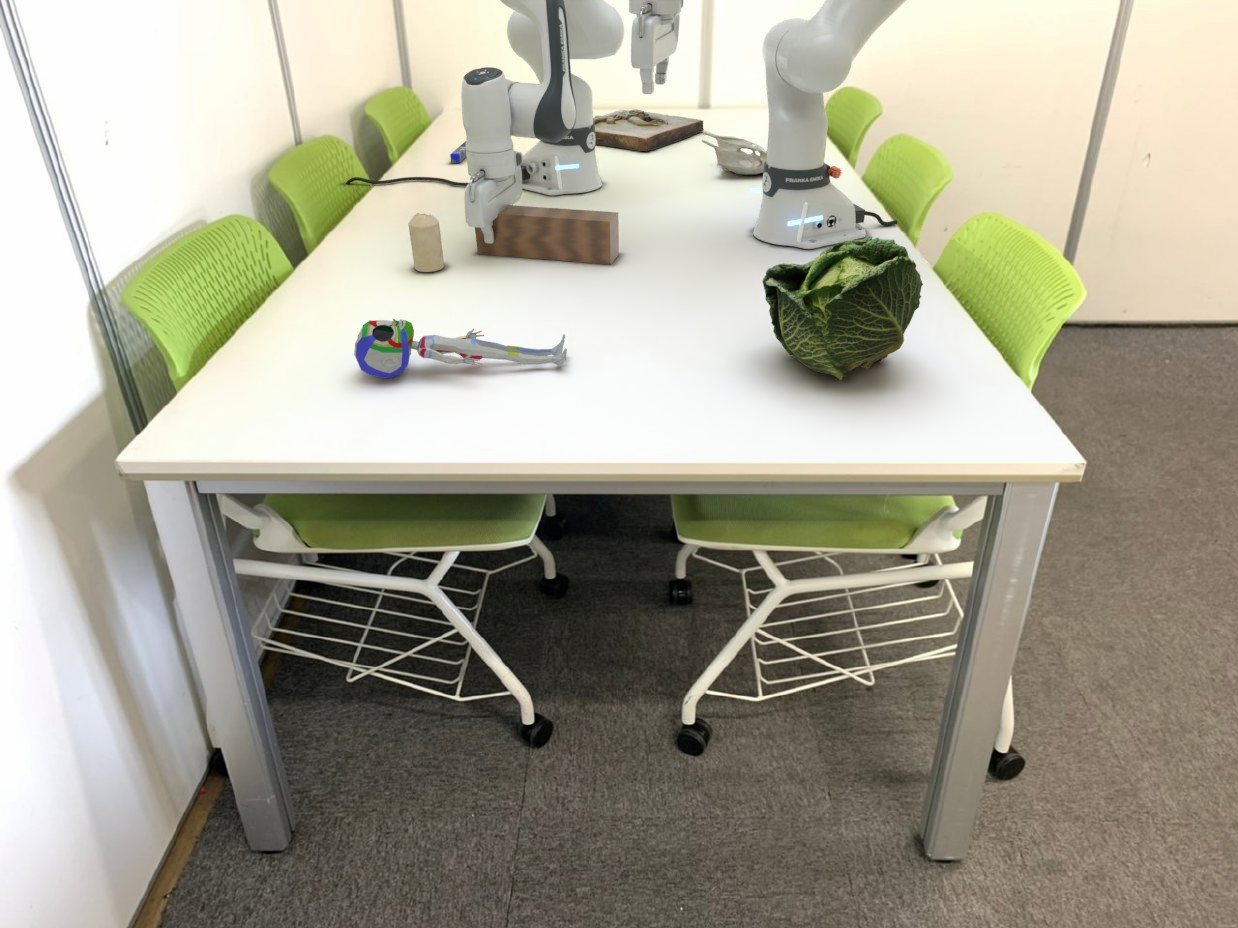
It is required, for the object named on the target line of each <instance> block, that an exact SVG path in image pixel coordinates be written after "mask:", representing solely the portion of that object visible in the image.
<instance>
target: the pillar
mask: <svg viewBox="0 0 1238 928" xmlns="http://www.w3.org/2000/svg"><path fill="white" fill-rule="evenodd" d="M449 155H450V164H460V163H461V162H462V161H463V160H465V159H466V158H467V157H466V140H464V141H463V143H462V144H460V145H459V146H458V147H457V148H456V149H454V151H452V152H451V153H450V154H449Z"/></svg>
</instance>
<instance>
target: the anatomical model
mask: <svg viewBox="0 0 1238 928" xmlns="http://www.w3.org/2000/svg"><path fill="white" fill-rule="evenodd" d="M702 135H704V136H708V137H711V138H714V139H715V140H716V142H717V145H715V144H713V143H712V142H709V141H708V140H705V139H701V142H702V143H703V144H706V145H708V146H709V147H711V148H713V149H714V152H715V155H716V160H717V164H716V165H717V166H721V167H722V170H724V171H727V172H729V171H730V172H733V173H735V174H736V175H744V176H747V175H750V176H751V175H752V176H753V175H759V174H763V171H764V163H765V162H766V161H767V150H766V149H764V148H763V147H762V146H761V145H759V144H757V143H755V142H752V141H749V140H748V139H744V138H739V137H736V136H730V135H729V136H727V135H726V136H725V135H719V134H715V133H711V132H707V131H702ZM743 149H747V150H751V151H752V152H751V153H748V152H747V153H746V152H745V151H743ZM756 152H758V153H759V155H758V154H756Z"/></svg>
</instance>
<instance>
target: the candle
mask: <svg viewBox="0 0 1238 928" xmlns="http://www.w3.org/2000/svg"><path fill="white" fill-rule="evenodd" d="M407 225H408V232H409V238H410V246H411V253H412V260H413V266H414V269H415V270H416V271H417V272H421V273H432V272H437V271H440V270H442V269H443V268H444V267H445V261H444V260H445V259H444V253H443V252H444V251H443V245H442V236H441V227H440V221H439V219H438V218H436V217H435V216H433V215H432V214H428V213H419V212H416V213H415V214H414V215H413V216H412V218H411V219H410V220H409V222H408V223H407Z"/></svg>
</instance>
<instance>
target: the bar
mask: <svg viewBox="0 0 1238 928" xmlns="http://www.w3.org/2000/svg"><path fill="white" fill-rule="evenodd" d="M492 229H493V232H495V237H496V240H495V241H494V242H493V243H492V244H491V243H485V241H484V234H483V232H482V230H481V228H480V227H474V234H475V243H476V250H477V251H476V252H477V255H487V256H499V257H510V258H523V259H537V260H548V261H560V262H573V263H585V264H596V265H612V264H613V262H614V261H615V260H616V259H617V258H618V256H619V255H620V241H619V239H620V238H619V237H620V236H619V231H620V230H619V212H617V211H603V210H588V209H572V208H559V207H557V208H556V207H543V206H529V205H527V206H526V205H515V204H513V205H509V206H508V207H506V208H505V209H504V210H502V211H501V212H500V213H499V214H498V217H497V218H496V219H494V220H493V226H492Z"/></svg>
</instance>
